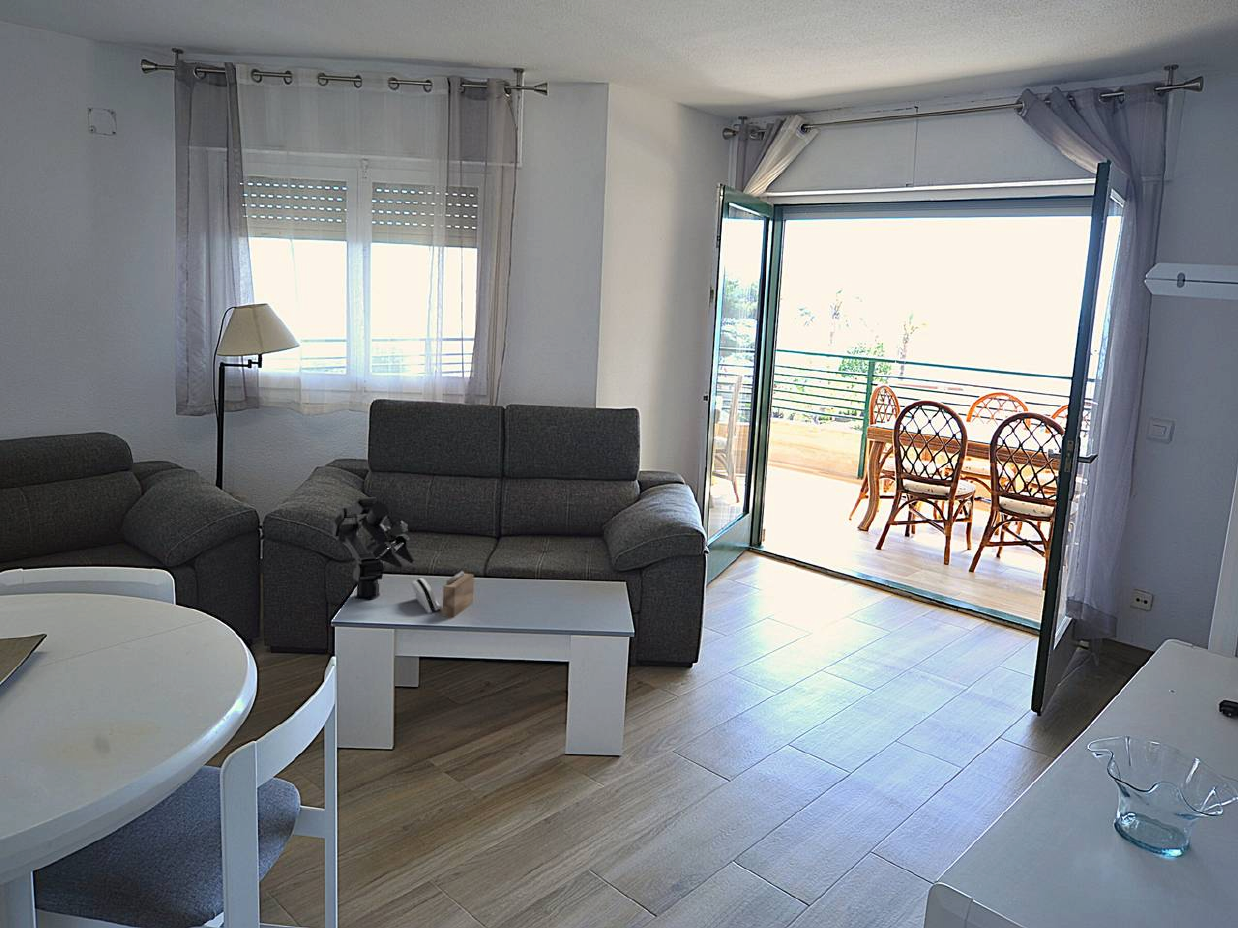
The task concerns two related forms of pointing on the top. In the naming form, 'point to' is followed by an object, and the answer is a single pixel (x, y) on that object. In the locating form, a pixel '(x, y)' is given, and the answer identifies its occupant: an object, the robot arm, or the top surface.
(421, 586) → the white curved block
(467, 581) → the tan flat boxy piece
